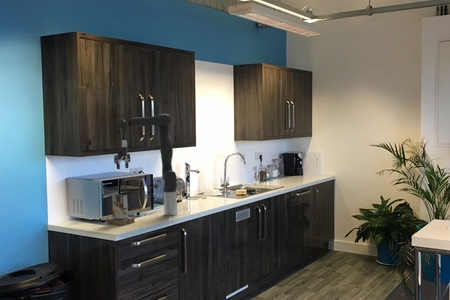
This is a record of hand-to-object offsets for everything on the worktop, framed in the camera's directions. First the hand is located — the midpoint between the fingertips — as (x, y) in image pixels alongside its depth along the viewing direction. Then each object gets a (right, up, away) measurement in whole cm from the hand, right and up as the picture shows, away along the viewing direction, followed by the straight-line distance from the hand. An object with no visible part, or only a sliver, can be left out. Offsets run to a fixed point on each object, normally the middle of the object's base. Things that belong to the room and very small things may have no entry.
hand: (122, 168), depth 355 cm
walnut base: (+2, -38, -16) cm, 41 cm away
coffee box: (+2, -34, -18) cm, 38 cm away
